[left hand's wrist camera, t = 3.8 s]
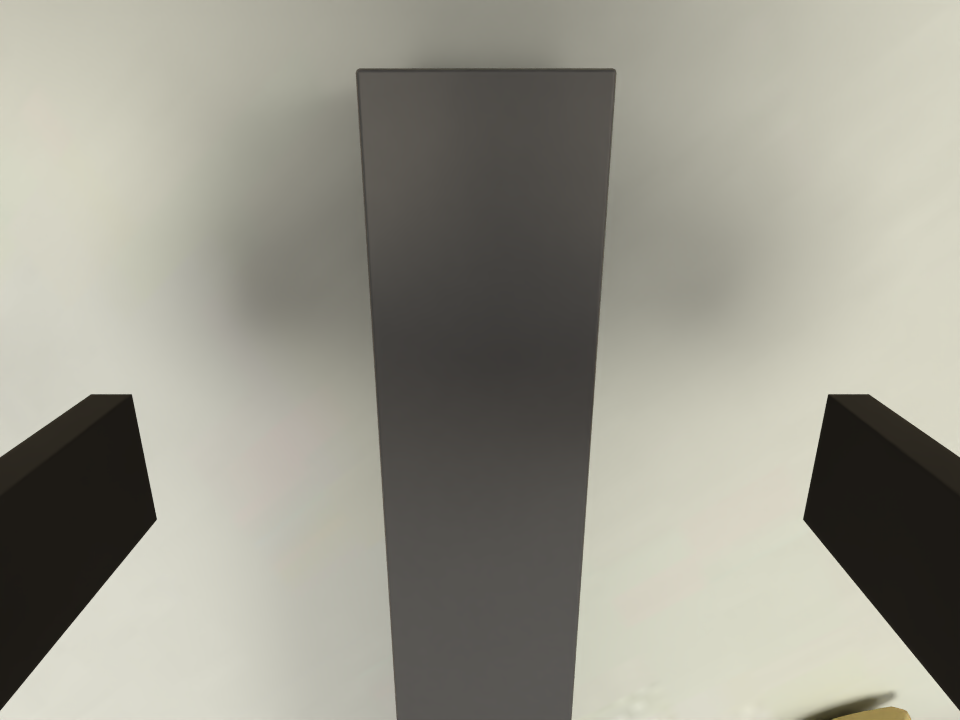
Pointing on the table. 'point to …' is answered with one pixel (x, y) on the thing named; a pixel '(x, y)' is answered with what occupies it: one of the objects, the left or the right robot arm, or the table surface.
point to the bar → (485, 372)
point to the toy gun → (878, 715)
